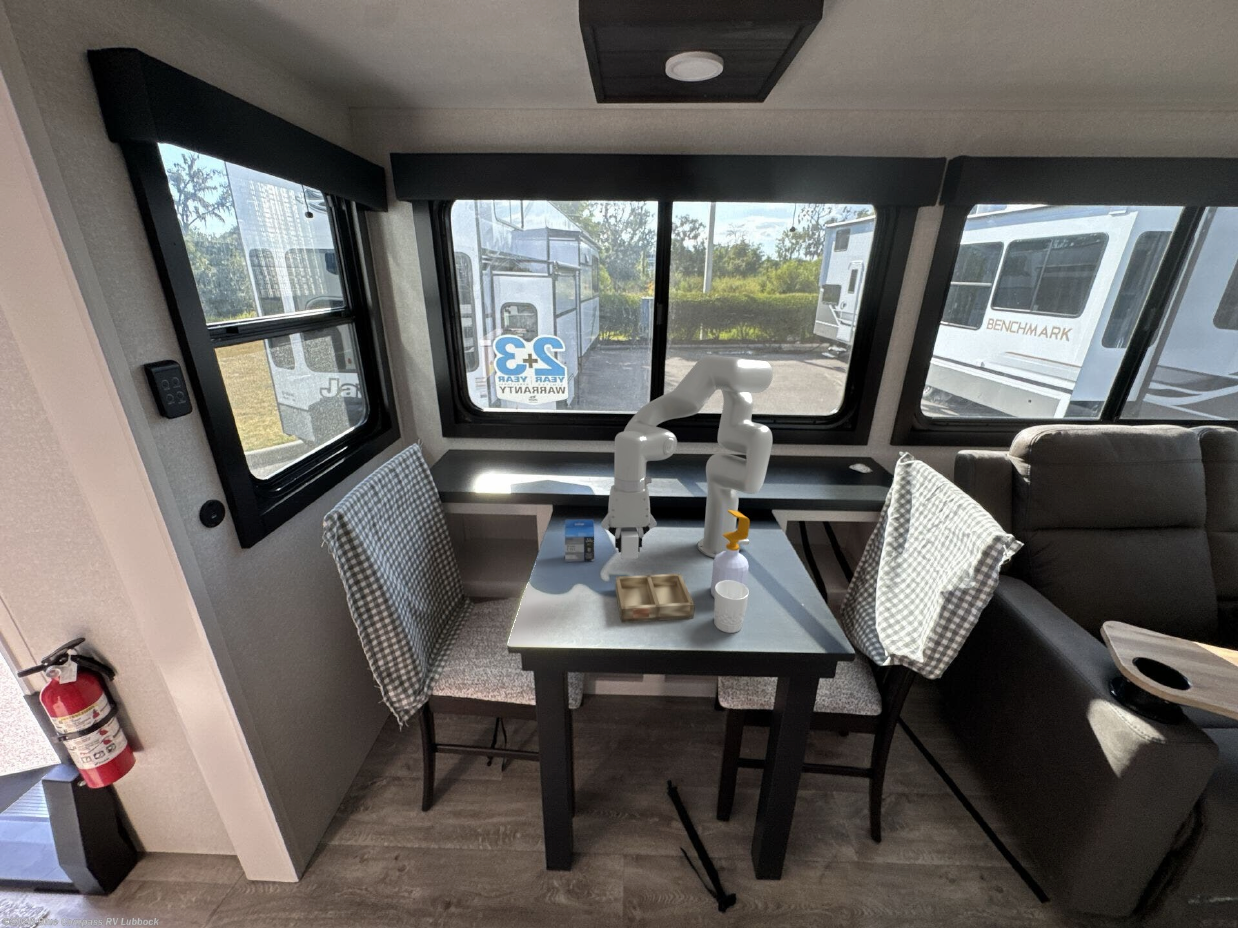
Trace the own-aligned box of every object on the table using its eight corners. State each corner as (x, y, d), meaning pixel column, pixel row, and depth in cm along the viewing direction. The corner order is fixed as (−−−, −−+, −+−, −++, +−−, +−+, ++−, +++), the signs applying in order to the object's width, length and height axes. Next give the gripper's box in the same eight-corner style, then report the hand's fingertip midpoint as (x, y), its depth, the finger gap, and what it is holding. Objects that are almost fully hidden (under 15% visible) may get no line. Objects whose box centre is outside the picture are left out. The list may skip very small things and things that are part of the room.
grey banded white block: (634, 542, 124) (635, 521, 122) (638, 558, 117) (638, 536, 115) (618, 542, 124) (619, 521, 122) (621, 558, 116) (622, 536, 114)
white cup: (721, 609, 122) (724, 576, 118) (749, 622, 117) (754, 588, 114) (705, 625, 116) (709, 590, 112) (735, 639, 111) (739, 603, 108)
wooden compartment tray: (679, 585, 132) (680, 572, 130) (693, 618, 118) (694, 605, 117) (615, 588, 129) (615, 576, 128) (621, 623, 116) (621, 609, 114)
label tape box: (564, 562, 142) (564, 525, 138) (565, 555, 146) (564, 519, 142) (594, 561, 142) (594, 525, 138) (594, 554, 146) (594, 518, 142)
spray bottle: (704, 588, 130) (711, 507, 122) (732, 582, 134) (741, 502, 125) (722, 607, 123) (731, 521, 114) (751, 600, 126) (762, 516, 117)
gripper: (661, 476, 118) (658, 541, 124) (594, 477, 117) (594, 543, 123) (667, 488, 111) (663, 556, 117) (595, 489, 110) (596, 558, 116)
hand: (628, 548), depth 120 cm, fingers closed on grey banded white block, 4 cm apart
